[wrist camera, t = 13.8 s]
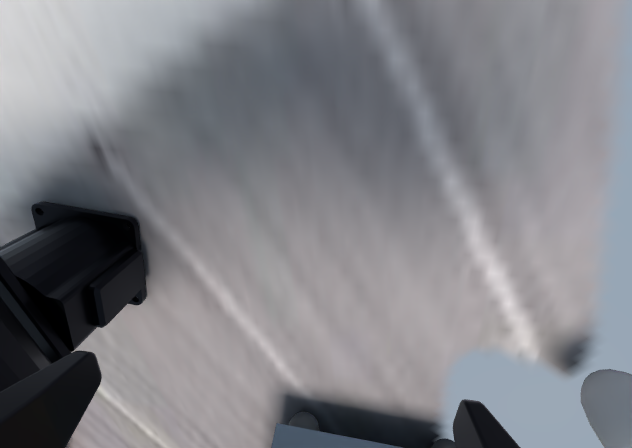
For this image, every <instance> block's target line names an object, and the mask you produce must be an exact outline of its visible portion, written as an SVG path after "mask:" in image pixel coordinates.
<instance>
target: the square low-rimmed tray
mask: <svg viewBox="0 0 632 448" xmlns="http://www.w3.org/2000/svg"><path fill="white" fill-rule="evenodd" d="M271 448H403V447H398V446H392V445H387V444H382V443H377V442H372V441H367V440H361V439H356V438H351V437H346V436H341V435H336V434H330V433H325V432H320V431H319V424H318V421H317V420H316V418H315V417H314V416H313V415H312V414H310V413H308V412H299V413H297V414H296V415H294V416H293V417H292V419H291V420H290V422H289V425H284V424H279V423H277V424H276V429H275V434H274V438H273V443H272V447H271ZM432 448H456V447H455V442H453V441H452V440H449V439H439V440H437V441H436V442H435V443H434V444H433V446H432Z"/></svg>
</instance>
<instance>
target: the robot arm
mask: <svg viewBox="0 0 632 448" xmlns="http://www.w3.org/2000/svg"><path fill="white" fill-rule="evenodd" d="M41 209H42V210H43V211H42V210H41ZM32 214H33V218H34V221H35V225H36V229H35V230H33V231H31V232H29V233H27V234H25V235H23V236H21V237H19V238H17V239H15V240H13V241H11V242H9V243H7V244H5V245H3V246H1V247H0V448H65V447H66V445H67V443H68V441H69V440H70V438H71V436H72V434H73V433H74V431H75V429H76V427H77V425H78V423H79V422H80V420H81V418H82V416H83V414H84V412H85V411H86V409H87V407H88V405H89V403H90V402H91V400H92V398H93V396H94V394H95V392H96V391H97V389H98V387H99V385H100V382H101V378H102V375H101V371H100V368H99V365H98V362H97V358H96V356H95V354H94V353H92V352H86V351H75V352H73V353H71V352H72V351H74V350H75V349H76V348H77V347H78V346H79V345H80V344H81V343H82V342H83V341H84V340H85V339H86V338H87V337H88V336H89V335H90V334H91V333H92V332H93V331H94V330H95V329H96V328H97V327H100V328H103V327H104V326H106V325H107V324H108V323H109V322H110V321H111V320H112V319H113V318H114V317H115V316H116V315H117V314H118V313H119V312H120V311H121V310H122V309H123V308H124V307H125V306H126V305H127V304H133V305H140V304H141V303H142V302H143V301H144V300H145V299H146V294H145V274H144V264H143V254H142V252H141V246H140V237H139V227H138V223H137V221H136V220H135V219H134V218H132V217H129V216H123V215H117V214H111V213H106V212H100V211H94V210H88V209H82V208H77V207H71V206H65V205H59V204H54V203H48V202H39V203H36V204H34V205H33V206H32ZM126 223H127V224H129V225H130V227H131V228H130V227H128V226H127V224H126ZM137 297H138V298H137ZM453 434H454V440H455V447H456V448H520V447H519V446H518V444H517V443H516V442H515V441H514V440H513V439H512V437H511V436H510V435H509V434H508V433H507V431H506V430H505V429H504V428H503V427H502V426H501V424H500V423H499V422H498V421H497V420H496V419H495V417H494V416H493V415H492V414H491V413H490V412H489V410H488V409H487V408H486V407H485V406H484V405H483V404H482V403H481V402H479V401H473V400H462V401H461V402H460V405H459V407H458V410H457V413H456V416H455V419H454V423H453Z"/></svg>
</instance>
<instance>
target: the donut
mask: <svg viewBox="0 0 632 448" xmlns="http://www.w3.org/2000/svg"><path fill="white" fill-rule="evenodd" d="M581 403H582V406H583V408H584V411H585V413H586V416H587V418H588V420H589V423H590V425H591V427H592V428H593V430H594V431H595V433H596V435H597V436H598V438H599V440H600V441H601V443H602V445H603V446H604V447H605V448H632V375H631V374H629V373H625V372H620V371H616V370H611V369H609V370H598V371H596V372H593V373H591V374H590V375H589V376H588V377H587V378H586V379H585V380H584V383H583V385H582V388H581Z"/></svg>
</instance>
